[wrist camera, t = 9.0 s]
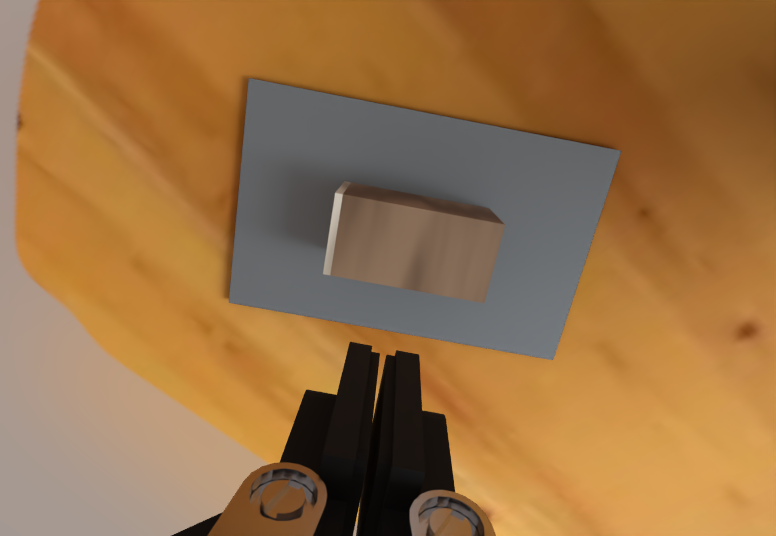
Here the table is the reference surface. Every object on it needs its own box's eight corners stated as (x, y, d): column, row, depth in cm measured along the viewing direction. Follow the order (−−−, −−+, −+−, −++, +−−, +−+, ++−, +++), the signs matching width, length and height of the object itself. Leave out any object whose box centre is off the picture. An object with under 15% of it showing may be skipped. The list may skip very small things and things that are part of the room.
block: (344, 181, 29) (489, 208, 29) (333, 251, 30) (472, 276, 31) (335, 192, 25) (505, 224, 25) (322, 274, 26) (484, 303, 27)
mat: (617, 150, 29) (621, 150, 28) (550, 355, 33) (553, 360, 32) (251, 78, 28) (248, 78, 27) (231, 299, 32) (228, 302, 32)
